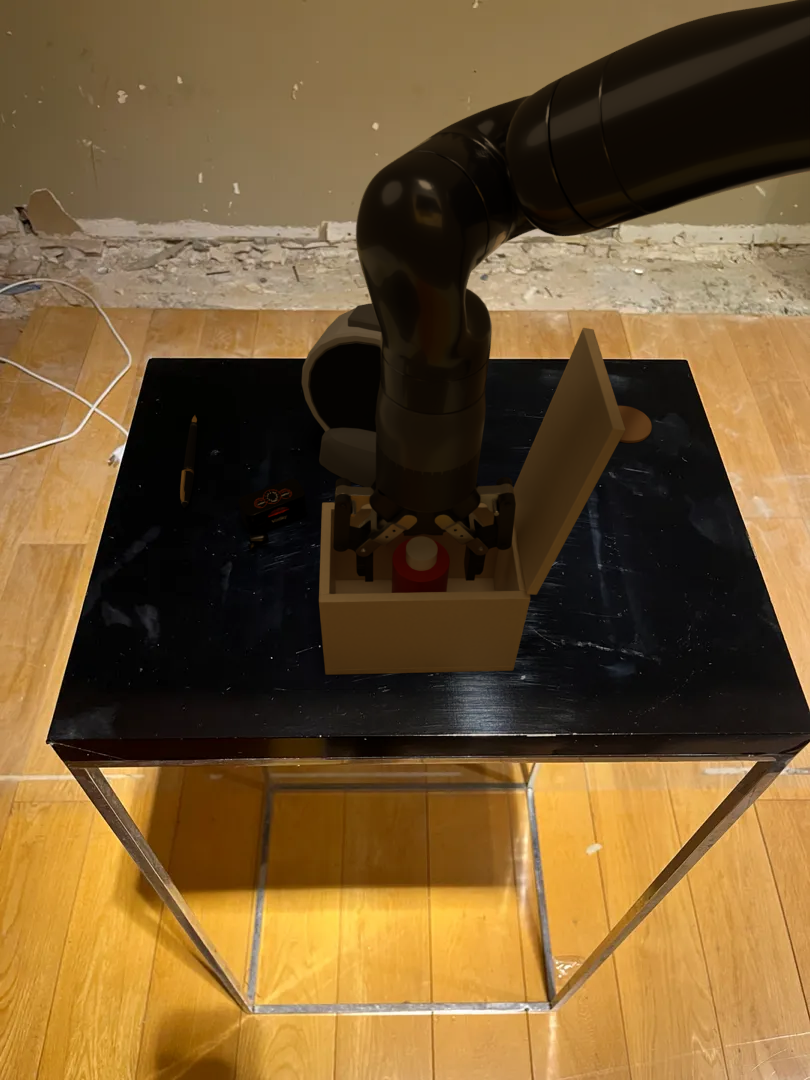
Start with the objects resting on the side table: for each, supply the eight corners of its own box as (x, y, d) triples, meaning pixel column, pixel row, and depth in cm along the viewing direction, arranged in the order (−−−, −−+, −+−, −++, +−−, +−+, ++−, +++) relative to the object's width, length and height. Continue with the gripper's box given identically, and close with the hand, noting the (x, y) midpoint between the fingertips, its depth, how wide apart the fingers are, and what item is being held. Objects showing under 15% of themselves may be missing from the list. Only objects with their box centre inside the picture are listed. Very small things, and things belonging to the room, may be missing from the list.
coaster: (652, 413, 96) (653, 411, 96) (648, 447, 92) (649, 445, 92) (601, 403, 97) (602, 401, 97) (595, 437, 93) (595, 434, 93)
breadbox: (325, 674, 72) (318, 602, 64) (327, 579, 79) (322, 502, 71) (513, 670, 73) (530, 598, 65) (499, 576, 80) (513, 499, 72)
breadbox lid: (613, 428, 51) (626, 429, 52) (582, 327, 58) (593, 328, 58) (526, 594, 64) (536, 595, 65) (509, 495, 71) (519, 496, 71)
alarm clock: (296, 466, 89) (281, 323, 75) (334, 409, 95) (327, 266, 81) (437, 508, 85) (449, 365, 72) (468, 445, 92) (484, 303, 78)
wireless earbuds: (233, 523, 83) (228, 501, 81) (297, 499, 86) (295, 477, 83) (251, 554, 81) (247, 533, 78) (317, 528, 83) (315, 506, 81)
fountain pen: (190, 419, 93) (188, 408, 92) (201, 418, 93) (199, 408, 92) (179, 512, 84) (176, 502, 83) (191, 512, 84) (188, 502, 83)
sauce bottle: (448, 603, 77) (456, 533, 69) (436, 645, 74) (443, 576, 66) (399, 591, 77) (401, 521, 70) (384, 632, 74) (385, 563, 67)
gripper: (326, 469, 55) (335, 610, 68) (537, 468, 56) (507, 607, 68) (328, 397, 60) (336, 540, 72) (522, 396, 61) (497, 538, 73)
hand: (419, 573), depth 70 cm, fingers open, 8 cm apart
